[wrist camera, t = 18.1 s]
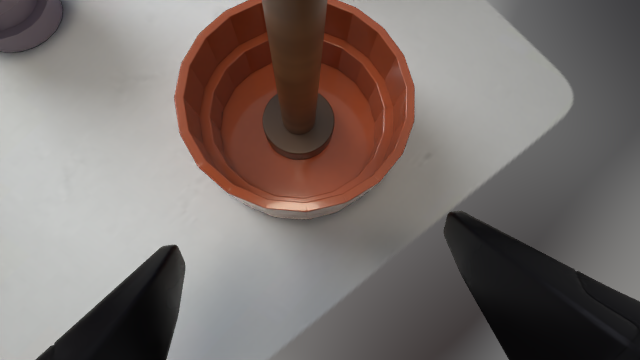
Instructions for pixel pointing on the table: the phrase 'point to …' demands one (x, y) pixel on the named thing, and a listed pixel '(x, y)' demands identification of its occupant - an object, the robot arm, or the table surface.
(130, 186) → the table surface
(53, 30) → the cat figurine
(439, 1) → the table surface
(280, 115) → the wooden peg on base
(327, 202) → the mixing bowl
